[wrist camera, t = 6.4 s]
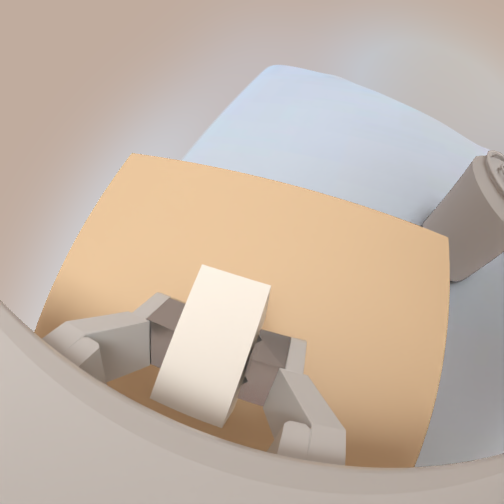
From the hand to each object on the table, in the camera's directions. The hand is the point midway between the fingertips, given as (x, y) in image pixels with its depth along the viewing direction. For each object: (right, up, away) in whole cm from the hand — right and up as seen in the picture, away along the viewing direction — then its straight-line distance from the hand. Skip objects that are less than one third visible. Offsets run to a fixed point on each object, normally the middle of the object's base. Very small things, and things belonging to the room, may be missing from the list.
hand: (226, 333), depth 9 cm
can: (+20, +3, +14) cm, 25 cm away
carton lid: (0, -3, +4) cm, 5 cm away
